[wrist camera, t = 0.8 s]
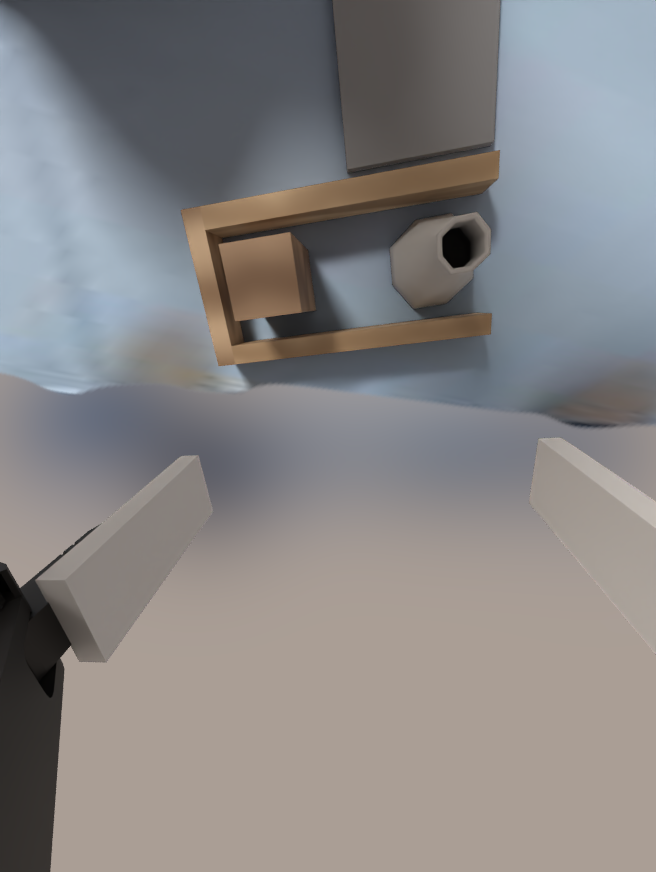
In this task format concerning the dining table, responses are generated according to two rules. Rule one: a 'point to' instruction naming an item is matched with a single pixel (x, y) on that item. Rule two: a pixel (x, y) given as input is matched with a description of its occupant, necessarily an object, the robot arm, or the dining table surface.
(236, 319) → the walnut block
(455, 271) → the flask
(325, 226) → the dining table surface
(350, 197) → the rack
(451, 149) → the coaster
